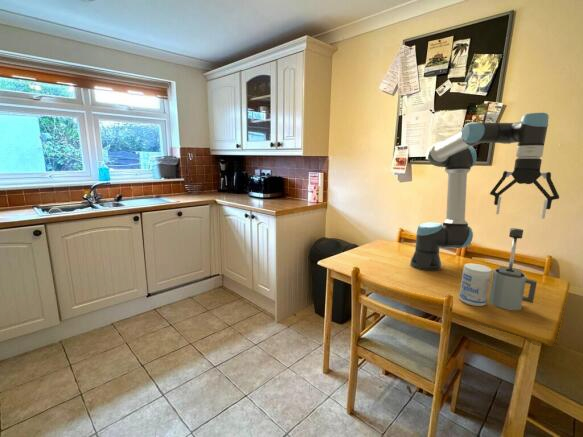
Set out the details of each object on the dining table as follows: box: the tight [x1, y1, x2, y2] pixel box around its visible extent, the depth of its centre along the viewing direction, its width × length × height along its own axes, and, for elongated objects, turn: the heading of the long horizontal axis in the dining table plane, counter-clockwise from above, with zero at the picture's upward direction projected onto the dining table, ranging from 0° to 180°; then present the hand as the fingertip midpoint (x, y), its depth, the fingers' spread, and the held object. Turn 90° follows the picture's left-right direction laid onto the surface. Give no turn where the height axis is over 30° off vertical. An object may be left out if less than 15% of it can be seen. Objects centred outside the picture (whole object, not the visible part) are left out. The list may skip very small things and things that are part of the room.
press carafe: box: [488, 265, 538, 311], centre depth 116 cm, size 14×10×14 cm
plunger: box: [505, 227, 524, 277], centre depth 114 cm, size 8×8×20 cm
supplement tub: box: [458, 262, 493, 307], centre depth 119 cm, size 10×10×15 cm
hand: (519, 215), depth 111 cm, fingers open, 13 cm apart
